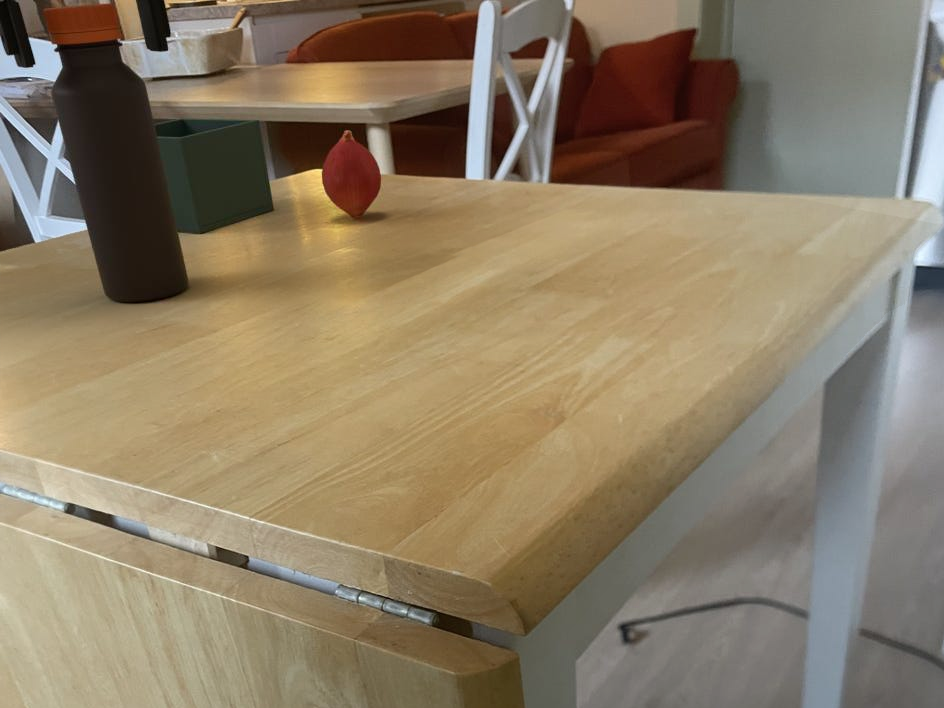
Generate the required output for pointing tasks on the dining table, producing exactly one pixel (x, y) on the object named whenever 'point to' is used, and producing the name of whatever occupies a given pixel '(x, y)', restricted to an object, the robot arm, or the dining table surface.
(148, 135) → the vinegar
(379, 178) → the onion
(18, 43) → the robot arm
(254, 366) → the dining table surface
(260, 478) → the dining table surface
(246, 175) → the open box
